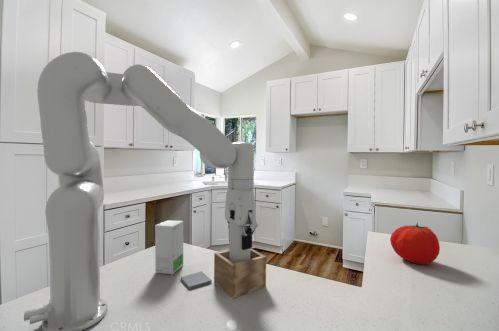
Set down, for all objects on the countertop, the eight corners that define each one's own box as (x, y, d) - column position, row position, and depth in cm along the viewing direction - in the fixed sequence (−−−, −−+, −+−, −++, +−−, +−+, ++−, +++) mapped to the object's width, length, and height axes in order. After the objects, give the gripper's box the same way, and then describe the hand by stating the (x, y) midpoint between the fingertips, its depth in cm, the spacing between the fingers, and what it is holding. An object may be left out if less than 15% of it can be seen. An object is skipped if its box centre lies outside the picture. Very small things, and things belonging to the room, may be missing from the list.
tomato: (434, 259, 97) (436, 223, 96) (443, 273, 84) (445, 233, 84) (388, 251, 104) (389, 218, 103) (390, 264, 91) (391, 226, 91)
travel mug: (249, 279, 72) (250, 209, 71) (226, 277, 73) (227, 207, 72) (252, 269, 78) (253, 204, 77) (231, 267, 79) (232, 203, 78)
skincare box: (172, 275, 81) (172, 226, 80) (153, 273, 82) (153, 225, 81) (184, 264, 89) (184, 220, 88) (166, 262, 90) (167, 219, 90)
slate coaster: (189, 289, 72) (189, 286, 72) (180, 279, 78) (180, 277, 78) (211, 282, 76) (211, 280, 76) (201, 273, 82) (201, 271, 82)
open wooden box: (232, 298, 68) (232, 265, 67) (214, 282, 76) (214, 253, 76) (265, 286, 74) (266, 256, 74) (245, 272, 83) (246, 245, 83)
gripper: (215, 182, 79) (215, 239, 80) (246, 188, 65) (246, 257, 66) (236, 181, 84) (235, 235, 84) (269, 187, 69) (268, 251, 70)
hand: (240, 244), depth 75 cm, fingers closed on travel mug, 6 cm apart
